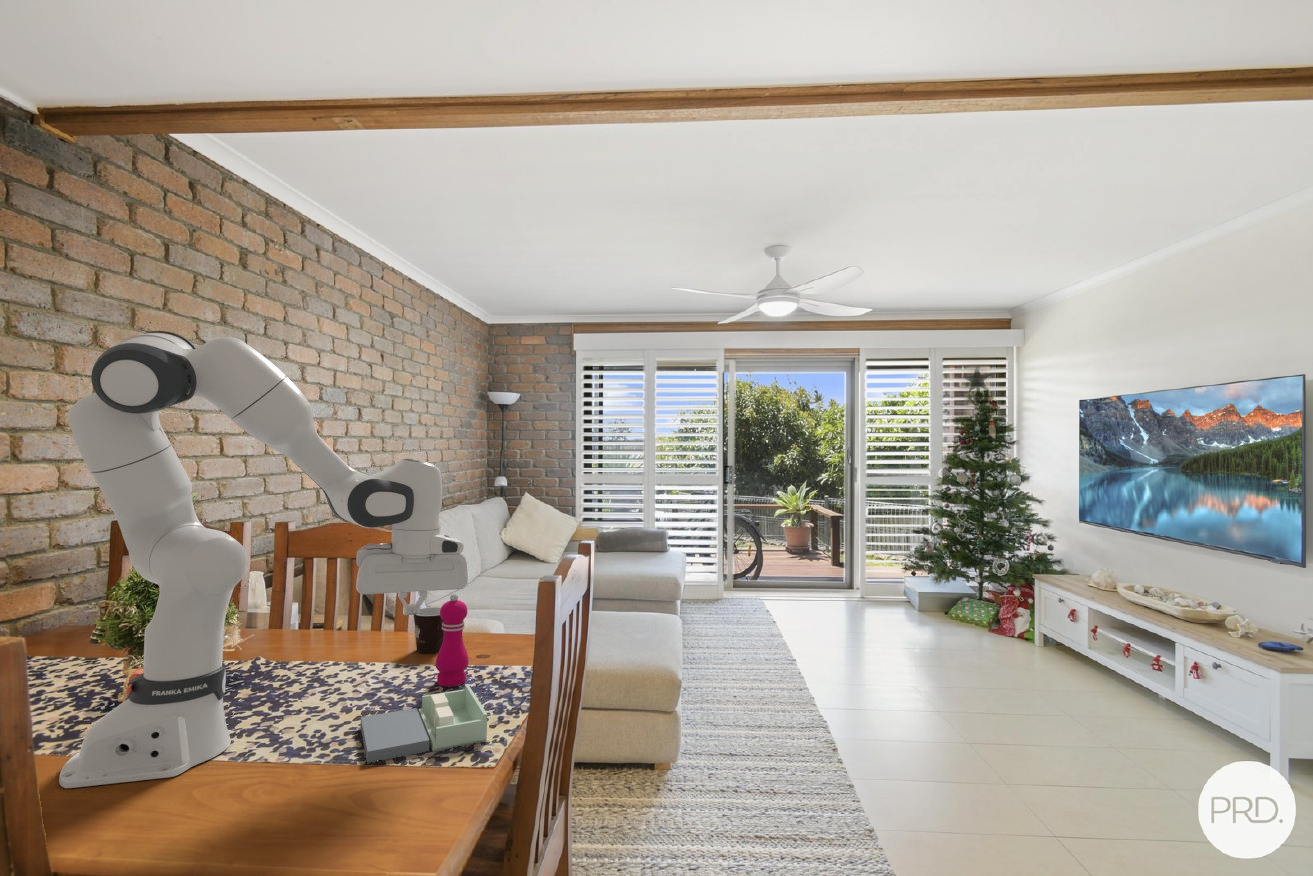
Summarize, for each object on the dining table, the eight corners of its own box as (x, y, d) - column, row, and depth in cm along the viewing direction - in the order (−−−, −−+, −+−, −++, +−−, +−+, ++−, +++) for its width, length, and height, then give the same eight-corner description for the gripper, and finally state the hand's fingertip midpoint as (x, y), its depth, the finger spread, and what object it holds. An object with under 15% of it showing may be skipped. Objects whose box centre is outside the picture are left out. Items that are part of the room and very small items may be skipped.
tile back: (434, 703, 122) (448, 701, 123) (430, 695, 126) (443, 693, 127) (434, 727, 122) (447, 725, 123) (430, 718, 126) (443, 716, 127)
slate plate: (367, 763, 109) (367, 751, 109) (360, 727, 122) (360, 717, 122) (429, 751, 114) (429, 740, 114) (416, 718, 127) (416, 708, 127)
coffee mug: (413, 645, 170) (414, 608, 170) (447, 643, 173) (448, 606, 173) (410, 660, 159) (411, 620, 159) (446, 658, 162) (448, 618, 162)
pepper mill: (458, 689, 142) (460, 598, 142) (428, 685, 143) (431, 596, 144) (473, 677, 149) (476, 591, 149) (445, 674, 151) (448, 589, 151)
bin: (432, 752, 114) (433, 723, 114) (418, 716, 128) (419, 691, 128) (486, 741, 118) (487, 714, 118) (467, 708, 132) (467, 684, 132)
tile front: (439, 717, 116) (453, 715, 118) (435, 708, 120) (449, 706, 122) (438, 742, 116) (453, 740, 118) (434, 732, 120) (448, 730, 121)
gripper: (358, 546, 118) (353, 622, 117) (471, 544, 127) (467, 614, 127) (356, 541, 123) (351, 614, 123) (464, 539, 133) (461, 607, 133)
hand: (411, 614), depth 125 cm, fingers closed
